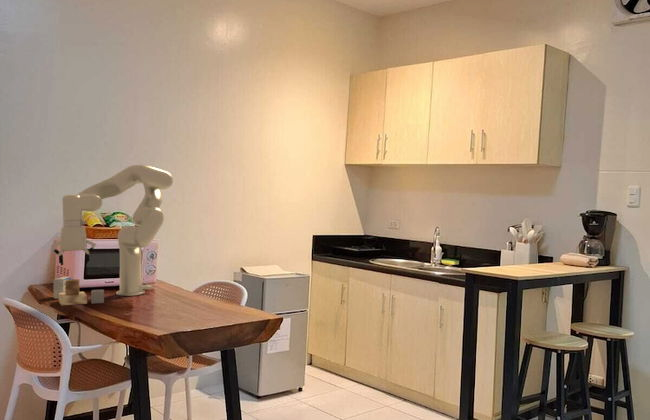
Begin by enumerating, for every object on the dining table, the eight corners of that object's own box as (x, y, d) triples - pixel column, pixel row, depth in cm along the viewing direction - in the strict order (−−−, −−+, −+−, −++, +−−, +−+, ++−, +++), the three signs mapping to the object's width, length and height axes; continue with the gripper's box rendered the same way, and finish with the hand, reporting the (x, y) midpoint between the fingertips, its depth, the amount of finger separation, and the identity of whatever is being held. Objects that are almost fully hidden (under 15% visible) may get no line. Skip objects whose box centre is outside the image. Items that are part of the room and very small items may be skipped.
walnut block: (79, 292, 251) (79, 279, 251) (78, 294, 246) (78, 280, 246) (66, 293, 249) (66, 279, 249) (65, 295, 245) (65, 281, 244)
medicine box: (63, 298, 256) (63, 279, 256) (53, 298, 256) (53, 279, 256) (71, 295, 264) (71, 276, 264) (61, 295, 264) (61, 276, 264)
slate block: (104, 301, 253) (104, 289, 253) (103, 303, 248) (103, 291, 248) (91, 301, 251) (91, 290, 251) (91, 303, 246) (91, 291, 246)
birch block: (83, 300, 255) (83, 291, 255) (86, 304, 246) (86, 295, 246) (58, 302, 250) (58, 293, 250) (61, 306, 241) (61, 296, 241)
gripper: (95, 222, 254) (96, 261, 255) (51, 224, 248) (52, 264, 249) (94, 223, 247) (96, 264, 248) (49, 225, 241) (51, 266, 242)
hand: (74, 264), depth 248 cm, fingers open, 9 cm apart
